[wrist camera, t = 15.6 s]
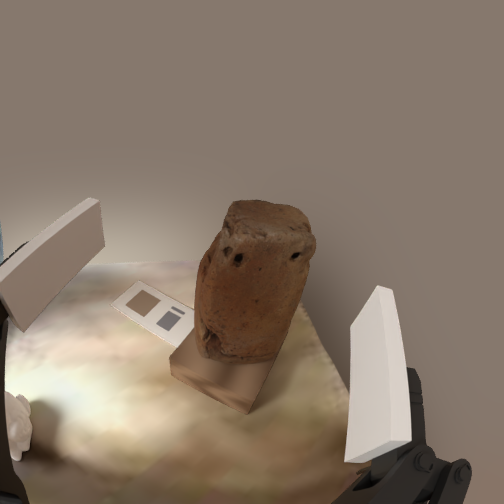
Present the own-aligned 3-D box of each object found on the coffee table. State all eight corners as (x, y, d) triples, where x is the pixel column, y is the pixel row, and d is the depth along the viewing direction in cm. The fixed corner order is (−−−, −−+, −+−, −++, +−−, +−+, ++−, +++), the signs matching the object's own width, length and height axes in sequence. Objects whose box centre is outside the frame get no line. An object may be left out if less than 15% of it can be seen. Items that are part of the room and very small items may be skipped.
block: (266, 323, 40) (305, 201, 29) (277, 366, 34) (333, 241, 23) (192, 323, 38) (202, 191, 26) (194, 369, 32) (202, 233, 20)
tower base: (171, 374, 35) (169, 357, 32) (214, 319, 45) (217, 298, 42) (247, 414, 32) (254, 401, 29) (280, 349, 43) (288, 330, 40)
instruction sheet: (110, 305, 43) (110, 304, 42) (138, 281, 49) (138, 279, 49) (179, 349, 39) (179, 348, 39) (205, 317, 45) (205, 315, 45)
